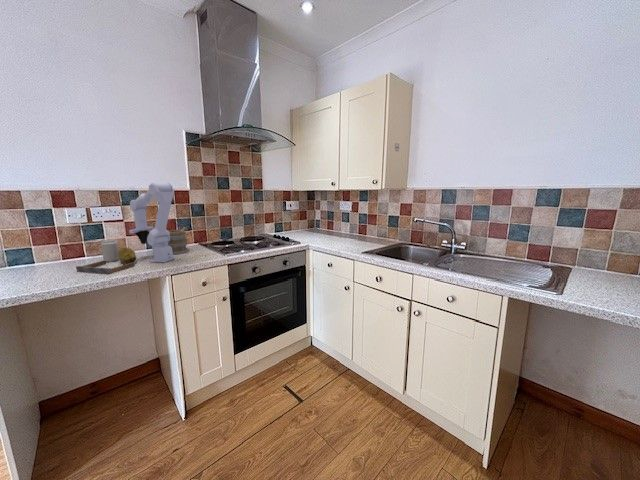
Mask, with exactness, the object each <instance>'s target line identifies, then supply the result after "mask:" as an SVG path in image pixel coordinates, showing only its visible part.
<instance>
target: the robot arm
mask: <svg viewBox="0 0 640 480" xmlns="http://www.w3.org/2000/svg"><path fill="white" fill-rule="evenodd" d="M174 192H175V189H174V187H173V185H172V184H171V183H169V182H168V183H161V182H160V183H157V182H155V183H154V182H151V183H150V184H149V185H148V190H147V191H146V193H144V192H143V193H140V195H139V196H138V197H137V198H136V199H131V200H130V202H129V203H130V204H129V206H130V208H131V210H132V212H133V218H134V219H133V220H134V225H135V228H133V229H129V230H128V232H129V234H135V235H136V237H138V240H139V241H140V243H141V244H142V245H146V244H148V245H150V247H151V249H152V256H153V259H152V260H150V261H149V262H152V263H166V262H169V261H172V260H175V258H174V255H173V251H172V247H171V246H168V245H167V244H168V242H169V241H170V233H169V231H170V230H168V229H167V226H168V225H167V224H168V220H169V215H170V213H171V212H170V211H171V206H172V201H173V198H174ZM152 198H153V199H154V201H156V202H158V207H157V208H158V209H157V213H156V219H155V225H154V226H148V221H147V214H146V213H147V208H148V205H149V204H150V203H152V200H153V199H152Z"/></svg>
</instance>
